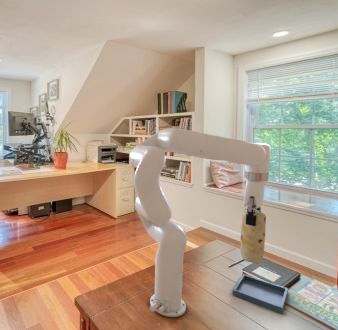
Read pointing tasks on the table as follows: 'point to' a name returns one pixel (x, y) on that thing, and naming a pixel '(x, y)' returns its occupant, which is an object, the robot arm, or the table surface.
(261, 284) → the serving tray
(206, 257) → the table surface
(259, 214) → the food model
